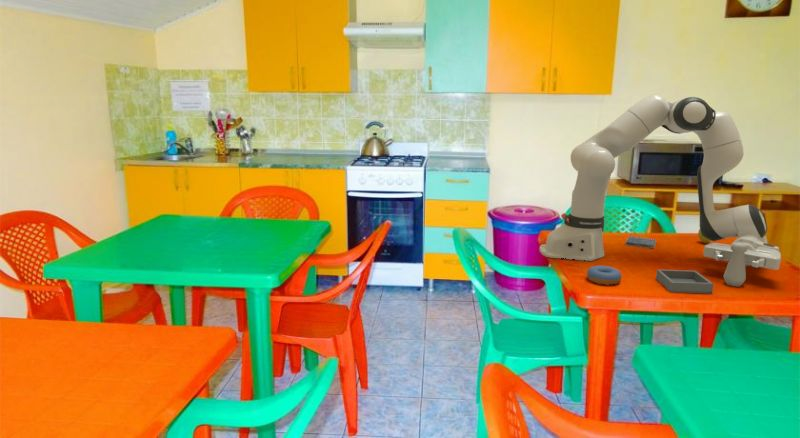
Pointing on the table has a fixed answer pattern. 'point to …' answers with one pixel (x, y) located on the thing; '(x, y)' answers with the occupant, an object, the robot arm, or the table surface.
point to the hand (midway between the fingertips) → (736, 261)
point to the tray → (684, 281)
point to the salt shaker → (736, 265)
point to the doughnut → (604, 275)
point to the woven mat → (640, 242)
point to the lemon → (703, 237)
